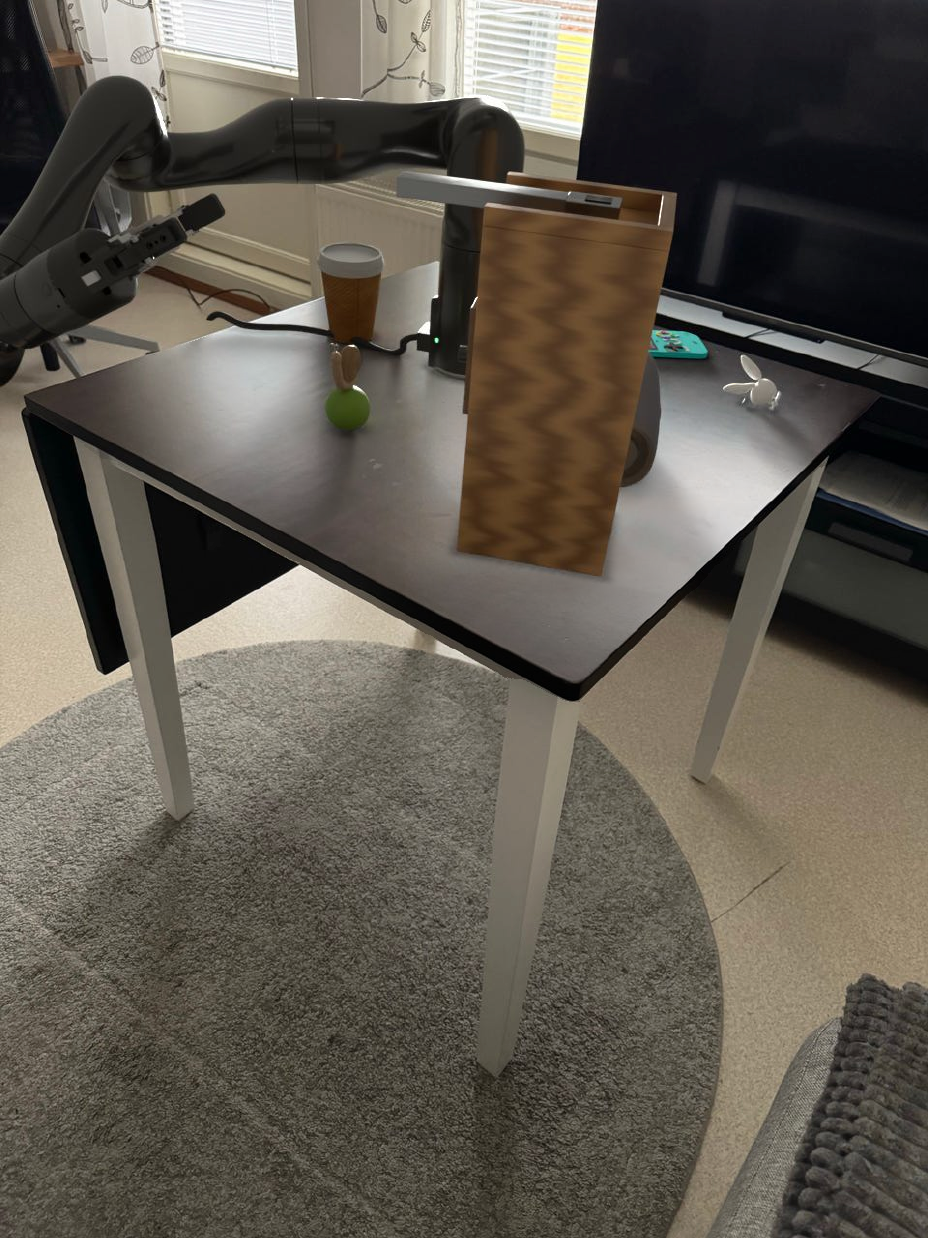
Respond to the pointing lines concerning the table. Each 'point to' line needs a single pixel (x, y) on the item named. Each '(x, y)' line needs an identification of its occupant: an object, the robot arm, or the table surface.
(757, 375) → the rabbit figurine
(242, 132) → the robot arm
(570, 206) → the bottle opener
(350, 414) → the snail figurine
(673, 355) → the handheld gaming console
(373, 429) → the table surface
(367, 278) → the disposable coffee cup
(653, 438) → the bluetooth speaker
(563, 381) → the zigzag wood box
